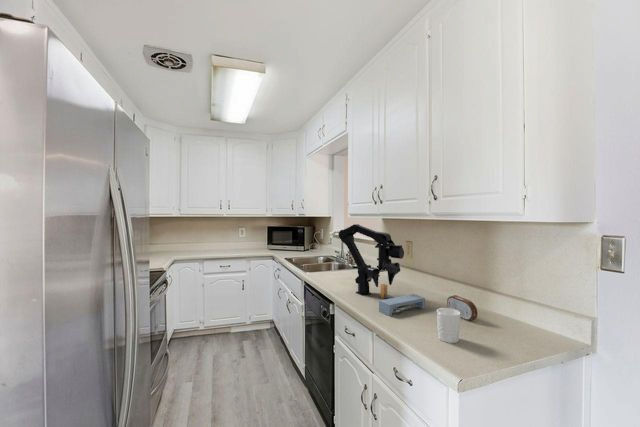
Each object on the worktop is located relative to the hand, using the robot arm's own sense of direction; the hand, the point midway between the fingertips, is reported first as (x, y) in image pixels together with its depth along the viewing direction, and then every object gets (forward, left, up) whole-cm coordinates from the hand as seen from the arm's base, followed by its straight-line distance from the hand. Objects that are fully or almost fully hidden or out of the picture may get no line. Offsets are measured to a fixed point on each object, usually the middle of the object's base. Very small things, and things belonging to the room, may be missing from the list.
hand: (383, 285), depth 155 cm
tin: (+38, +11, -7) cm, 40 cm away
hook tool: (+7, -2, -6) cm, 10 cm away
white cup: (+50, -13, -7) cm, 52 cm away
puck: (+19, -9, -7) cm, 22 cm away
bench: (+19, -5, -6) cm, 21 cm away
